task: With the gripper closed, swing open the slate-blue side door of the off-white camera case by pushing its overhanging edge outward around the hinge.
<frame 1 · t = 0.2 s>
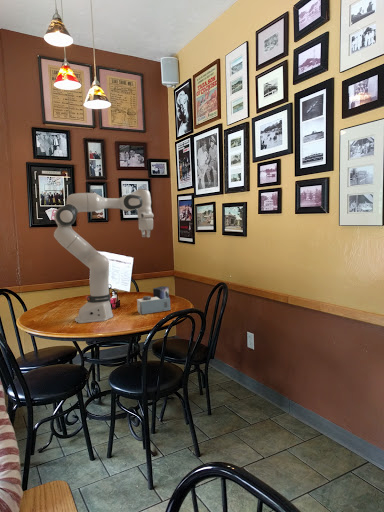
hand: (146, 237, 225), 47 cm above the table, tool pointing down, fingers open, 8 cm apart
small box: (161, 302, 252), on the table
case door: (155, 306, 222), point 4 cm above the table, hinge at 0.0°
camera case: (149, 311, 226), on the table
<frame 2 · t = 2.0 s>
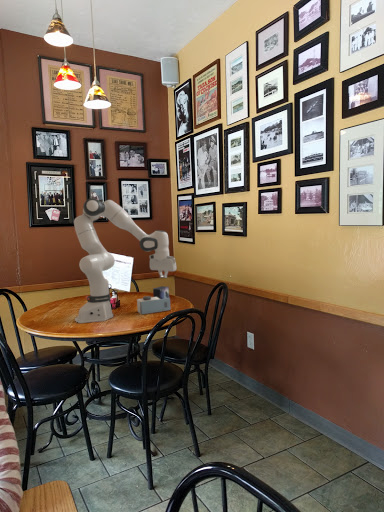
hand: (163, 277, 226), 21 cm above the table, tool pointing down, fingers closed
nothing on the table moved.
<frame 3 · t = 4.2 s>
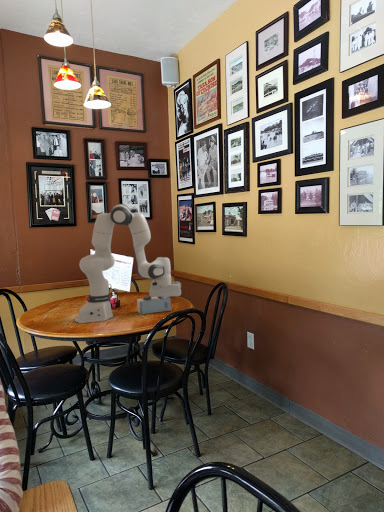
hand: (165, 303, 227), 5 cm above the table, tool pointing down, fingers closed
case door: (155, 306, 222), point 4 cm above the table, hinge at 2.7°, touching gripper
everything else where it was.
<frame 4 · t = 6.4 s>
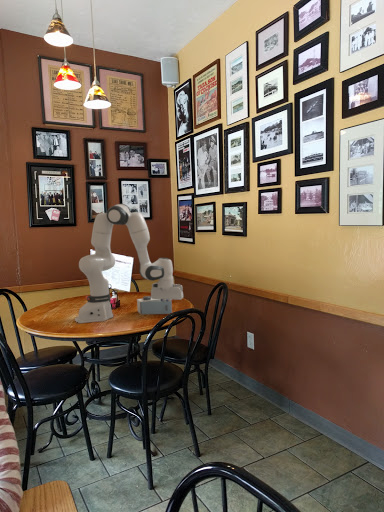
hand: (167, 306, 219), 5 cm above the table, tool pointing down, fingers closed
case door: (155, 308, 217), point 4 cm above the table, hinge at 29.9°, touching gripper
everything else where it was.
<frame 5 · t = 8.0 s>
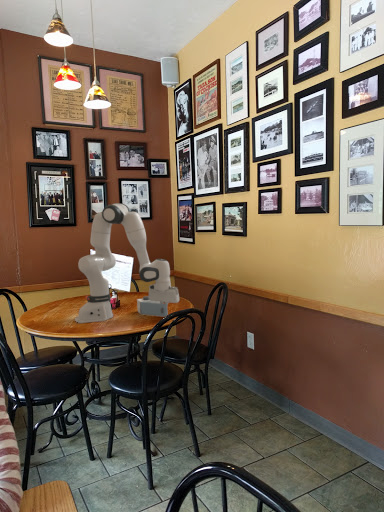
hand: (164, 308, 212), 5 cm above the table, tool pointing down, fingers closed, pressing on case door
case door: (153, 309, 214), point 4 cm above the table, hinge at 52.6°, touching gripper
everything else where it was.
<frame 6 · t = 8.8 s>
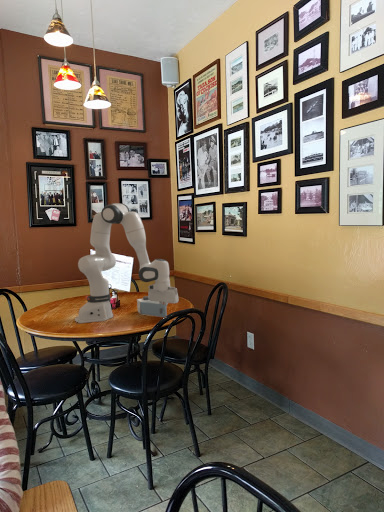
hand: (163, 309, 211), 5 cm above the table, tool pointing down, fingers closed
case door: (152, 309, 213), point 4 cm above the table, hinge at 55.9°
everything else where it was.
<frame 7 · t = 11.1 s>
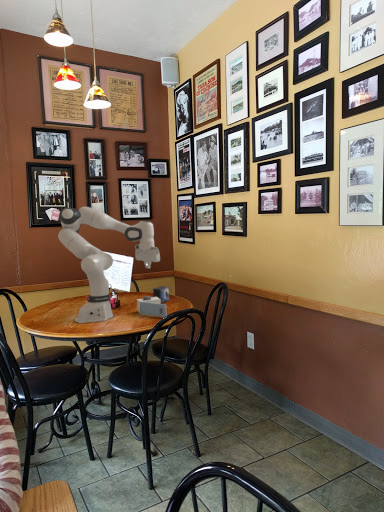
hand: (147, 268, 226), 28 cm above the table, tool pointing down, fingers closed
nothing on the table moved.
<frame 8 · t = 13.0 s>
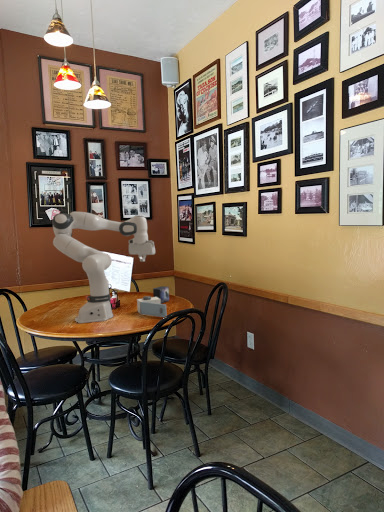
hand: (142, 261, 233), 31 cm above the table, tool pointing down, fingers closed
nothing on the table moved.
at the end: case door at +56° (first picture: +0°); small box moved 0.3 cm from its start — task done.
